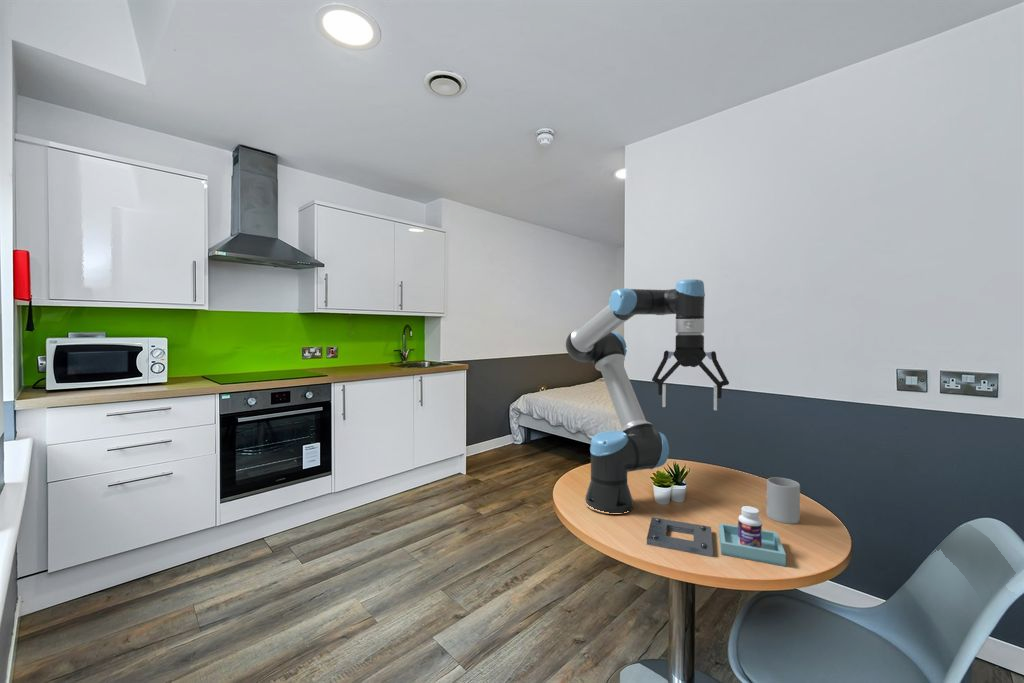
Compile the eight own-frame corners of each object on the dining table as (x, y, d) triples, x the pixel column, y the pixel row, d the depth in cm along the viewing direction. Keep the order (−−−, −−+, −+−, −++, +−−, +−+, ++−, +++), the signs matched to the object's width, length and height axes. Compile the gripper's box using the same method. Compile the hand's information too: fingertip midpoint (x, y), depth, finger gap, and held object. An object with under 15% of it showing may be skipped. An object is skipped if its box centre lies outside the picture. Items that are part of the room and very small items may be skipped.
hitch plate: (646, 544, 113) (646, 536, 113) (651, 521, 126) (651, 515, 126) (712, 556, 107) (712, 549, 107) (711, 532, 120) (711, 525, 120)
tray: (721, 554, 108) (721, 542, 108) (718, 533, 119) (718, 522, 119) (785, 566, 102) (785, 554, 102) (776, 543, 113) (777, 532, 113)
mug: (804, 525, 123) (805, 488, 123) (771, 522, 125) (771, 485, 125) (789, 508, 135) (790, 474, 134) (759, 505, 137) (760, 472, 137)
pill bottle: (739, 548, 109) (739, 511, 109) (736, 539, 114) (737, 503, 114) (763, 552, 107) (764, 515, 107) (759, 542, 112) (760, 506, 112)
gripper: (642, 334, 123) (642, 407, 123) (740, 334, 113) (739, 413, 113) (645, 333, 130) (645, 402, 130) (737, 334, 120) (736, 408, 120)
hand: (689, 408), depth 122 cm, fingers open, 13 cm apart
